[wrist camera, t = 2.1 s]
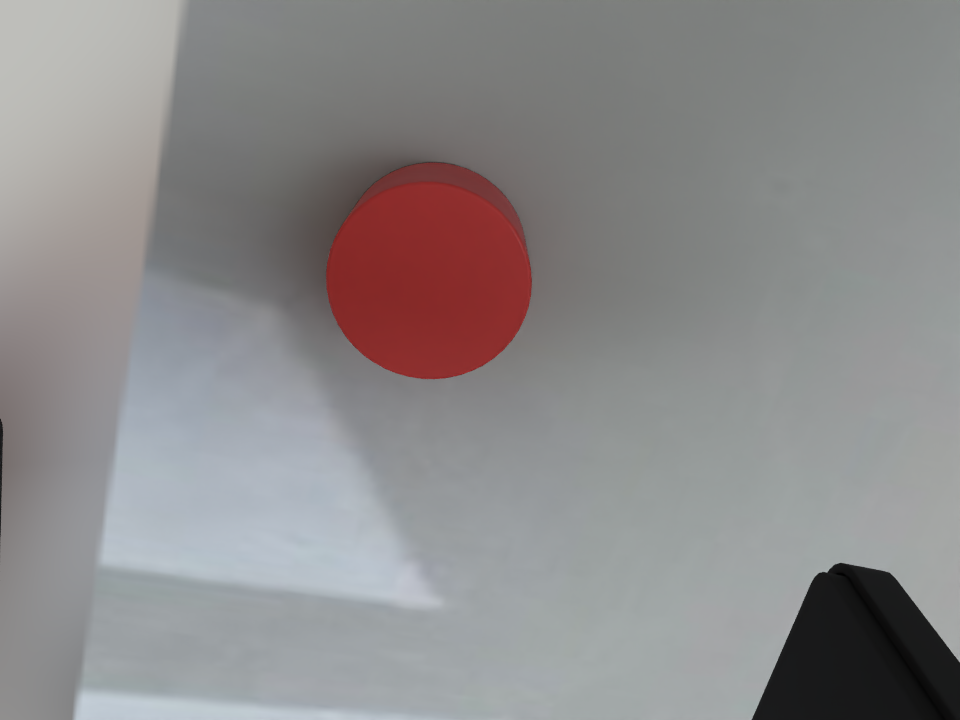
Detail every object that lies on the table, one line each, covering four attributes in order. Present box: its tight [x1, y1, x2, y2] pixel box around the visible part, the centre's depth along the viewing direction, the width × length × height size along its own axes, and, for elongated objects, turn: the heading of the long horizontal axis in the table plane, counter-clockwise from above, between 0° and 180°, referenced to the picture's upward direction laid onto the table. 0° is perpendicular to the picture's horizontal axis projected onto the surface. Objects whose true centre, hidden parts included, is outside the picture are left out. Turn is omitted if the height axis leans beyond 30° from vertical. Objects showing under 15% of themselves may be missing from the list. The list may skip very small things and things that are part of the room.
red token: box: [326, 162, 532, 379], centre depth 19 cm, size 4×4×3 cm
